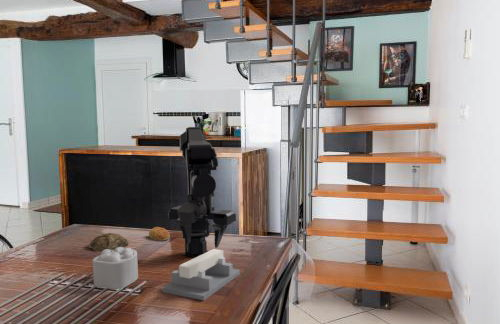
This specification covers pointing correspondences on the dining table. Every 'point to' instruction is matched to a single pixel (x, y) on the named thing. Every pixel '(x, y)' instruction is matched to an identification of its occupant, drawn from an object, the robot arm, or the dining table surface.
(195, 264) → the clay strip
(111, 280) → the white lego brick
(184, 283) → the grey pegged plate
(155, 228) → the pastry
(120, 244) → the mottled brown rock
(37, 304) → the dining table surface
